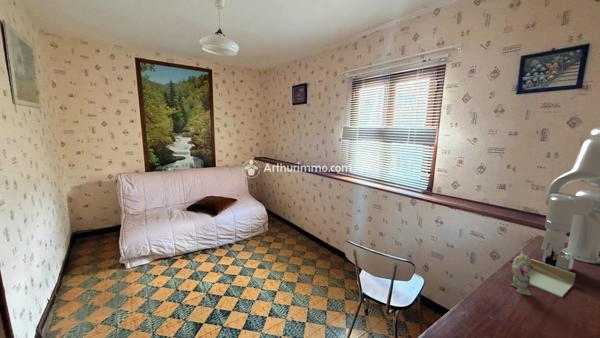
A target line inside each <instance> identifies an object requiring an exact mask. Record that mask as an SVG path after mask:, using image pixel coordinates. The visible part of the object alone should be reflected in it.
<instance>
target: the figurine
mask: <svg viewBox="0 0 600 338" xmlns="http://www.w3.org/2000/svg"><path fill="white" fill-rule="evenodd" d="M529 256H530V255H529V254H527V255H526V254H525V252H524V250H523V249H521V250H520V254H519V255H517V256H515V258H514V259H512V260H509V262H510V263H511V273H513V272H514V274H515V276H514V278H513V277H512V280H513V281H512V283H510V286H511V287H512V286H513V287H514V288H516V290H515V292H516V293H518V294H520V295H524V296H532V292H531V291H530V290H528V286H530V285H529V284H530V281H529V280H530V276H529V273H530V272H529V271H530V270H531V269H532V268H533V266H532V265H531V264H530V263H531V259H532V258H531V259H530V257H529Z"/></svg>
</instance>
